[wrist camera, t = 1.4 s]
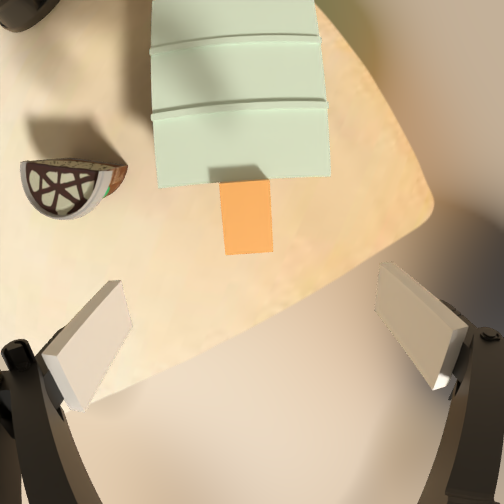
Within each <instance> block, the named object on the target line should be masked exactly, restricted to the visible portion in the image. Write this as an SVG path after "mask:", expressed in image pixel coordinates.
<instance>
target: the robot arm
mask: <svg viewBox="0 0 504 504" xmlns="http://www.w3.org/2000/svg"><path fill="white" fill-rule="evenodd" d="M59 1H60V0H0V25H1V26H2V27H3V28H4V29H6V30H9V31H11V32H21V31H24V30H26V29H28V28H30V27H32V26H33V25H35V24H36V23H38V22H39V21H40V20H41V19H43V18H44V17H45V16H46V15H47V14H48V13H49V12H50V11H51V10H52V9H53V8H54V7H55V6H56V4H57V3H58V2H59ZM375 312H376V313H377V314H378V316H379V317H380V318H381V320H382V321H383V322H384V324H385V325H386V326H387V328H388V329H389V330H390V332H391V333H392V334H393V336H394V337H395V338H396V339H397V341H398V342H399V344H400V345H401V346H402V348H403V349H404V350H405V352H406V353H407V355H408V356H409V357H410V359H411V360H412V362H413V363H414V364H415V366H416V367H417V369H418V370H419V371H420V373H421V374H422V376H423V377H424V379H425V380H426V381H427V383H428V384H429V386H430V387H431V389H432V390H435V389H438V388H441V387H444V386H447V385H448V383H449V381H450V379H451V376H452V373H453V374H454V376H455V377H456V378H457V381H456V383H455V386H454V388H453V390H452V393H451V395H450V397H449V399H448V400H451V399H452V400H451V404H450V408H449V413H448V417H447V420H446V424H445V428H444V432H443V435H442V439H441V442H440V445H439V448H438V451H437V455H436V458H435V461H434V463H433V466H432V469H431V472H430V474H429V477H428V480H427V482H426V485H425V487H424V490H423V492H422V495H421V497H420V499H419V501H418V503H417V504H500V503H498V502H494V494H495V489H496V485H497V479H498V473H499V468H500V462H501V455H502V446H503V437H504V337H503V338H502V335H501V334H500V333H499V332H498V331H496V330H494V329H491V328H488V327H481V328H477V327H476V326H475V325H473V324H472V323H471V322H470V321H469V320H468V319H467V318H466V317H464V316H463V315H461V313H460V312H459V311H456V309H455V308H454V307H453V306H452V305H450V304H449V303H447V302H445V301H443V300H438V299H437V298H436V297H435V296H434V295H432V294H431V293H430V292H429V291H428V290H426V289H425V288H424V287H423V286H422V285H420V284H419V283H418V282H417V281H416V280H415V279H413V278H412V277H411V276H409V275H408V274H407V273H406V272H405V271H403V270H402V269H401V268H400V267H398V266H397V265H396V264H395V263H393V262H384V263H379V274H378V285H377V294H376V303H375ZM132 328H133V324H132V321H131V317H130V313H129V309H128V305H127V301H126V297H125V293H124V289H123V285H122V280H116V281H108V282H107V283H106V284H105V285H104V286H103V287H102V288H101V289H100V290H99V291H98V292H97V293H96V294H95V295H94V297H93V298H92V299H91V300H90V301H89V302H88V303H87V304H86V305H85V306H84V307H83V308H82V309H81V310H80V311H79V312H78V313H77V314H76V316H75V317H74V318H73V319H72V320H71V321H70V322H69V323H68V324H67V325H66V326H64V327H63V328H61V329H60V330H58V331H57V332H56V333H55V334H54V336H53V337H52V338H51V339H50V340H49V341H48V343H46V345H45V346H44V347H43V348H42V349H41V350H40V351H39V353H38V354H37V355H36V356H34V354H33V352H32V350H31V348H30V345H29V343H28V341H27V340H25V339H18V340H14V341H12V342H10V343H8V344H7V345H5V346H4V347H3V349H2V350H1V355H2V357H3V359H4V361H5V363H6V365H7V367H8V369H9V371H1V370H0V504H22V499H21V474H22V478H23V482H24V487H25V490H26V494H27V498H28V501H29V504H102V502H101V500H100V498H99V496H98V494H97V492H96V490H95V488H94V486H93V484H92V482H91V480H90V478H89V476H88V473H87V471H86V469H85V467H84V465H83V462H82V460H81V457H80V455H79V452H78V450H77V447H76V445H75V442H74V440H73V437H72V434H71V431H70V429H69V426H68V423H67V420H66V417H65V414H64V411H63V409H62V408H61V406H60V405H61V403H62V401H63V400H65V402H66V404H67V405H68V407H69V409H70V410H74V411H80V412H86V410H87V408H88V406H89V404H90V402H91V400H92V399H93V397H94V395H95V393H96V391H97V389H98V387H99V386H100V384H101V382H102V380H103V378H104V376H105V375H106V373H107V371H108V369H109V367H110V366H111V364H112V362H113V360H114V359H115V357H116V355H117V353H118V352H119V350H120V348H121V346H122V345H123V343H124V341H125V340H126V338H127V336H128V334H129V333H130V331H131V329H132Z"/></svg>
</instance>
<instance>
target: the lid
mask: <svg viewBox="0 0 504 504" xmlns="http://www.w3.org/2000/svg"><path fill="white" fill-rule="evenodd" d="M321 43H322V40H321V37H320V36H319V29H318V23H317V16H316V10H315V4H314V0H154V1H152V17H151V49H149V55H150V56H151V92H152V114H151V121H153V132H154V146H155V158H156V170H157V180H158V188H167V187H175V186H185V185H194V184H205V183H216V182H220V183H219V187H220V199H221V211H222V222H223V233H224V244H225V254H226V255H234V254H249V253H263V252H273V238H272V217H271V198H270V180H269V179H273V178H295V177H329V176H331V166H330V144H329V127H328V112H327V109H329V104H328V102H327V100H326V89H325V78H324V69H323V60H322V52H321Z"/></svg>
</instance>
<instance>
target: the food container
mask: <svg viewBox="0 0 504 504" xmlns="http://www.w3.org/2000/svg"><path fill="white" fill-rule="evenodd" d="M127 168H128V165H121V164H114V163H107V162H99V161H91V160H83V159H74V158H63V159H48V160H36V161H23V162H21V165H20V172H21V181H22V185H23V189H24V192H25V194H26V196H27V198H28V200H29V201H30V203H31V204H32V205H33V206H34V208H35V209H36V210H38V211H39V212H40V213H42V214H44V215H45V216H48V217H50V218H53V219H59V220H69V219H76V218H79V217H82V216H84V215H86V214H88V213H89V212H90V211H92V210H93V209H94V208H95V207H96V206H97V205H98V204H99V202H100V201H101V200H102V199H103V198H104V197H106V196H108V195H110V194H111V193H113V192H114V191H115V190H116V189H117V188H118V187H119V186H120V184H121V183H122V181H123V180H124V178H125V175H126V172H127Z"/></svg>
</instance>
